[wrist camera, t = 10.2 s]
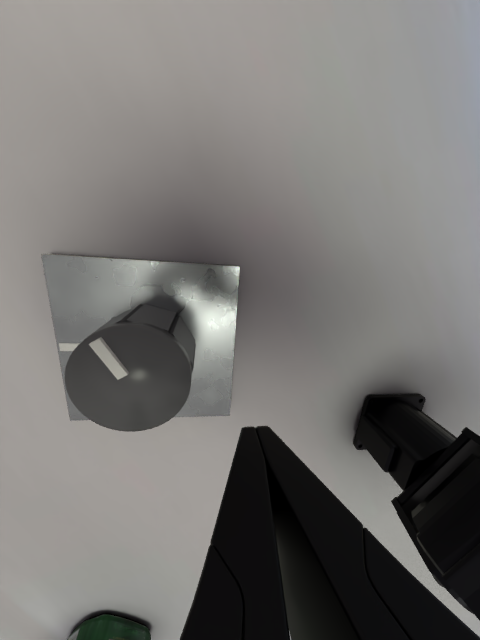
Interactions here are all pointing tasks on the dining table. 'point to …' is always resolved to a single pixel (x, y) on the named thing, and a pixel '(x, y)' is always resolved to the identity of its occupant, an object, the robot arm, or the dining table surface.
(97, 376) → the knob
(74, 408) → the mounting plate
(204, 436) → the dining table surface
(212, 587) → the robot arm
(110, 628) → the coffee jar
